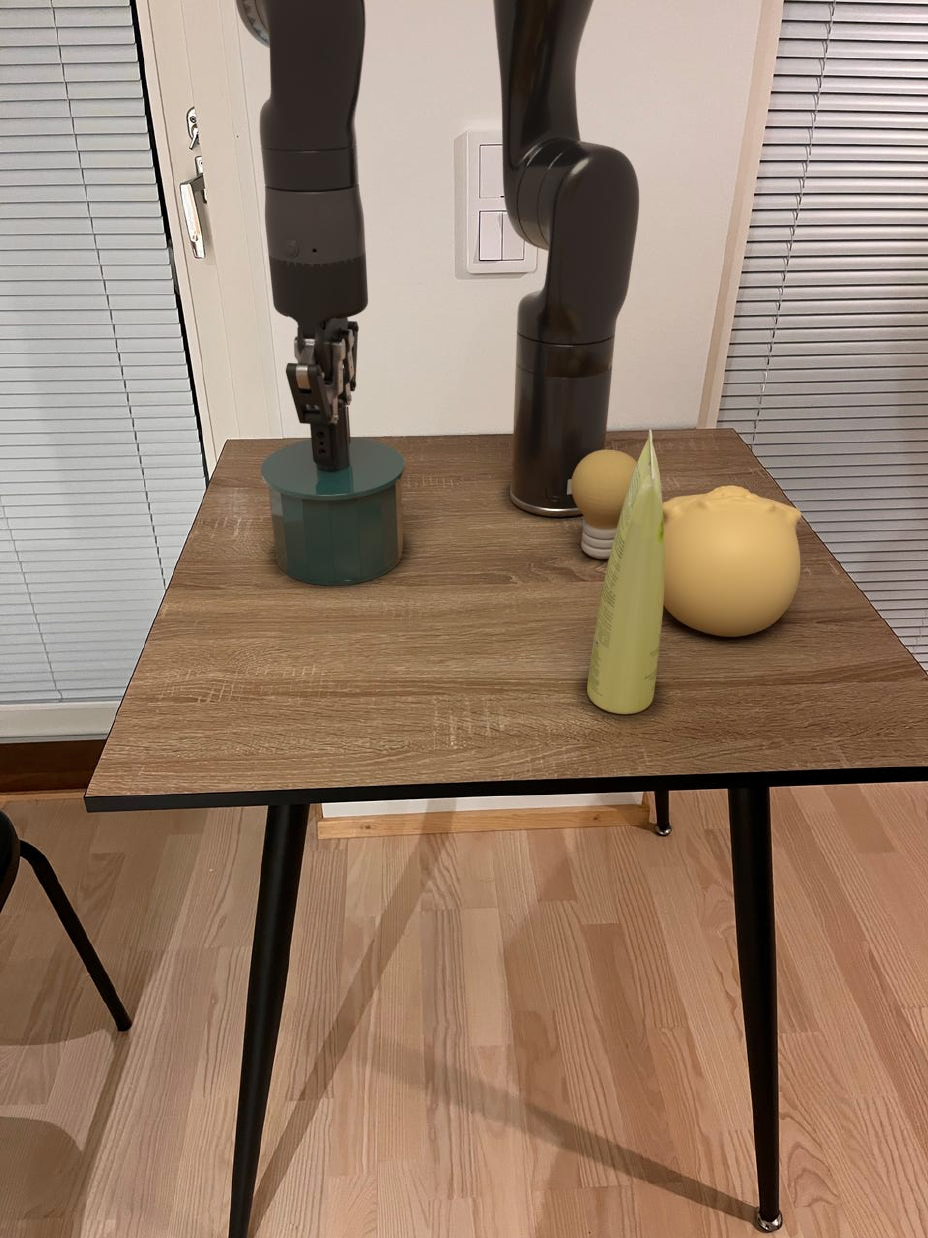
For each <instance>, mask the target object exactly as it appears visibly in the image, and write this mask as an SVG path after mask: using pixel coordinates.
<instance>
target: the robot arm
mask: <svg viewBox="0 0 928 1238" xmlns="http://www.w3.org/2000/svg"><path fill="white" fill-rule="evenodd" d="M492 3H493V4H492V5H493V16H494V29H495V38H496V49H497V59H498V67H499V77H500V78H499V79H500V97H501V98H500V99H501V153H502V154H501V156H502V157H501V159H502V189H503V200H504V206H505V210H506V215H507V218H508V221H509V223H510V226H511V227H512V229H513V231H514V233H516V235H517V236H518V237H519V238H520V239H521V240H523V242H525V243H527V244H528V245H530V246H532V247H534V248H537V249H540V250H544V251H547V260H546V271H545V279H544V283H543V287H542V288H541V289H539V290H535V291H532V292H529V293H527V294H526V295H524V296H523V297H522V298H521V299H520V301H519V302H518V305H517V312H516V338H515V339H516V341H515V344H516V345H515V372H514V374H515V375H514V401H513V405H514V406H513V429H512V430H513V431H512V454H511V455H512V457H511V458H512V459H511V484H510V487H509V497H510V500H511V502H512V503H513V504H514V505H515V506H516V507H518V508H519V509H522V510H524V511H525V512H528V513H531V514H534V515H539V516H546V517H556V518H557V517H558V518H561V517H562V518H563V517H573V516H579V515H583V514H582V512H581V511H580V510H579V508H578V506H577V505H576V503H575V501H574V498H573V495H572V490H571V482H572V477H573V473H574V471H575V469H576V467H577V465H578V464H579V463H580V461H581V460H582V459H583V458H585V457H586V456H587V455H589V454H591V453H593V452H595V451H599V450H606V440H607V430H608V419H609V410H610V409H609V407H610V398H611V397H610V396H611V387H612V374H613V364H614V363H613V362H614V353H615V352H614V351H615V350H614V349H615V341H616V340H615V338H616V331H617V329H616V328H617V321H618V317H619V314H620V312H621V311H622V308H623V306H624V304H625V301H626V299H627V295H628V291H629V286H630V285H629V284H630V279H631V272H632V265H633V258H634V251H635V245H636V240H637V239H636V238H637V231H638V224H639V214H640V188H639V186H640V185H639V180H638V176H637V173H636V169H635V167H634V165H633V162H632V161H631V160H630V159H629V157H627V155H626V154H625V153H623V152H622V151H620V150H618V149H617V148H615V147H612V146H608V145H605V144H599V143H595V142H588V141H583V140H582V139H581V134H580V128H579V119H578V106H577V87H576V85H577V83H576V82H577V81H576V80H577V78H576V77H577V76H576V75H577V64H578V63H577V62H578V56H579V52H580V46H581V42H582V39H583V35H584V32H585V29H586V26H587V22H588V20H589V17H590V14H591V11H592V8H593V4H594V0H492ZM235 5H236V9H237V12H238V15H239V18H240V20H241V22H242V24H243V26H244V27H245V29H246V30H247V32H248V33H249V34H250V35H251V36H252V38H254V40H256V41H257V42H258V43H260V45H263V46H264V47H266V48H268V49H269V74H270V75H269V77H270V79H269V81H270V94H269V97H268V99H267V100H265V102H264V103H263V104H262V106H261V109H260V113H259V141H260V150H261V160H262V171H263V182H264V193H265V194H264V225H265V234H266V235H265V236H266V244H267V253H268V264H269V273H270V275H269V276H270V282H271V294H272V304H273V308H274V309H275V311H276V312H277V313H278V314H280V315H282V316H284V317H286V318H288V317H289V318H291V319H292V320H293V321H294V322H296V324H297V328H296V329H297V330H296V331H297V332H296V334H297V335H296V336H294V340H293V350H294V351H293V355H294V358H295V360H296V361H297V362H287V364H286V367H285V374H286V379H287V383H288V386H289V390H290V394H291V397H292V401H293V404H294V408H295V411H296V412H295V413H296V415H297V419H298V422H299V424H302V425H303V424H304V425H309V426H310V428H309V429H310V439H311V441H312V452H313V461H314V462H315V463H316V464H318V465H332V466H334V465H336V464H337V463H338V462H339V460H340V448H339V434H338V422H337V420H338V405H337V399H341V400H343V401H345V402H346V404H347V419H348V435H349V445H350V442H351V441H350V437H351V426H350V414H349V413H350V412H349V406H350V405H351V402H352V400H353V397H352V392H355V390H356V389H357V361H358V339H359V329H360V327H359V324H358V321H355V320H349V318H351V317H354V316H357V315H359V314H360V313H363V312H364V311H365V310H366V308H367V307H368V306H369V305H368V304H369V290H368V288H369V287H368V272H367V269H368V268H367V250H366V233H365V232H366V231H365V217H364V215H365V214H364V208H363V203H362V198H361V192H360V191H361V190H360V184H359V183H360V178H359V177H360V176H359V160H358V159H359V156H358V142H357V141H358V140H357V129H356V115H357V114H356V113H357V106H358V102H359V96H360V90H361V81H362V73H363V72H362V71H363V64H364V54H365V44H366V29H367V27H366V26H367V17H366V16H367V15H366V2H365V0H235ZM315 405H316V406H318V407H319V409H315Z"/></svg>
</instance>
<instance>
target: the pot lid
mask: <svg viewBox="0 0 928 1238" xmlns="http://www.w3.org/2000/svg"><path fill="white" fill-rule="evenodd" d="M337 405H338V420H337V422H338V434H339V448H340V460H339V462H338V463H337V464H336V465H334V466H332V465H318V464H316V463H315V462H314V461H313V452H312V441H311V438H310V439H306V440H301V441H297V442H294V443H291V444H288V445H284V446H283V447H280V448H278V449H276V450H274V451H273V452H271V453H270V454H269V455H267V456H266V457H265V458H264V459H263V461H262V463H261V465H260V476H261V477H260V478H261V479H262V480H261V481H262V482H263V483H264V484H265V485H266V486H267V488H268V487H270V488H271V489H273V490H274V491H277V492H279V493H281V494H284V495H287V496H291V497H295V498H300V499H307V500H322V501H327V500H345V499H352V498H358V497H363V496H367V495H370V494H374V493H377V492H379V491H382V490H384V489H386V488H388V487H390V486H392V485H393V484H395V483H396V482H397V481H398V480H399V479H400V478H401V479H402V477H403V476H404V474H405V471H406V461H405V458H404V456H403V454H402V453H401V452H400V451H399V450H397V449H396V448H394V447H392V446H390V445H389V444H386V443H383V442H380V441H377V440H374V439H368V438H364V437H363V438H361V437H353V436H350V441H351V442H350V445H349V435H348V419H347V407H348V405H347V404H346V402H345V401H343V400H341V399H337ZM315 409H319V407H318V406H316V405H315Z"/></svg>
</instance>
